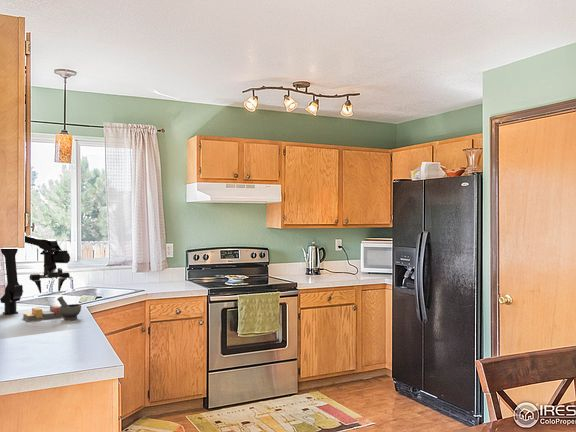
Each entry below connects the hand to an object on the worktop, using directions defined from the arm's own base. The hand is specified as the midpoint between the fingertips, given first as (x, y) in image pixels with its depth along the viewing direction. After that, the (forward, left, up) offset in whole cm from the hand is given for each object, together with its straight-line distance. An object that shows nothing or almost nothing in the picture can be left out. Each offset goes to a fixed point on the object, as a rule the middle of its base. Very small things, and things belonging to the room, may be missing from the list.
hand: (49, 292), depth 271 cm
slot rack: (+6, -3, -12) cm, 14 cm away
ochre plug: (+6, -8, -11) cm, 15 cm away
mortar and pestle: (+20, +4, -12) cm, 24 cm away
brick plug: (+5, +2, -11) cm, 12 cm away
